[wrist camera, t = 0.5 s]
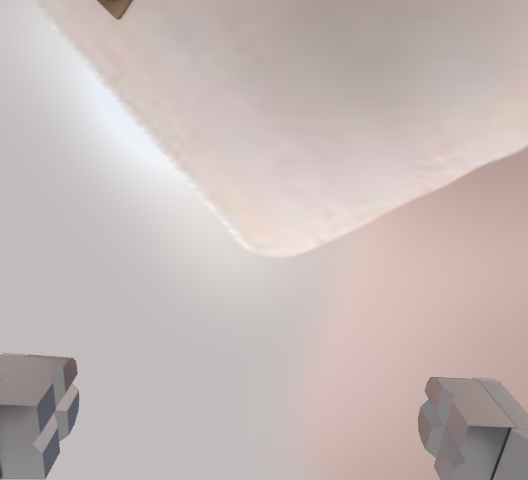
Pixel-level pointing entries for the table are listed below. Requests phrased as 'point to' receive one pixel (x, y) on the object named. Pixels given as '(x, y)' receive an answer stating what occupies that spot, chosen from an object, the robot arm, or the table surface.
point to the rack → (115, 6)
